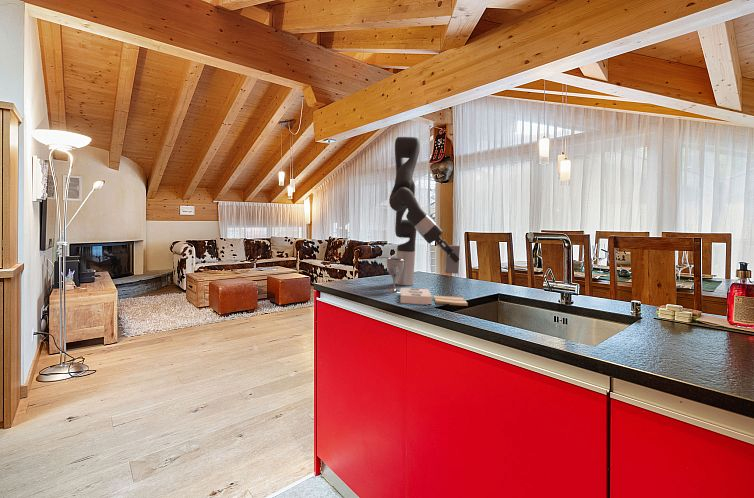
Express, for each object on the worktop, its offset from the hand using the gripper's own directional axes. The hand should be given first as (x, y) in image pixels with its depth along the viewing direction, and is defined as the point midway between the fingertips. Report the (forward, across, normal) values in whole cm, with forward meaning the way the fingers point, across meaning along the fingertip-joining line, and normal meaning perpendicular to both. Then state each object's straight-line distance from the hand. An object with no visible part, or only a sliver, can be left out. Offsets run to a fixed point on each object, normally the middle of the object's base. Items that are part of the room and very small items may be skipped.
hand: (456, 260), depth 150 cm
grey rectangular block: (+2, 0, +5) cm, 5 cm away
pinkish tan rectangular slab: (+1, +1, +23) cm, 23 cm away
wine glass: (-5, +17, +30) cm, 35 cm away
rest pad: (+11, 0, +13) cm, 17 cm away
